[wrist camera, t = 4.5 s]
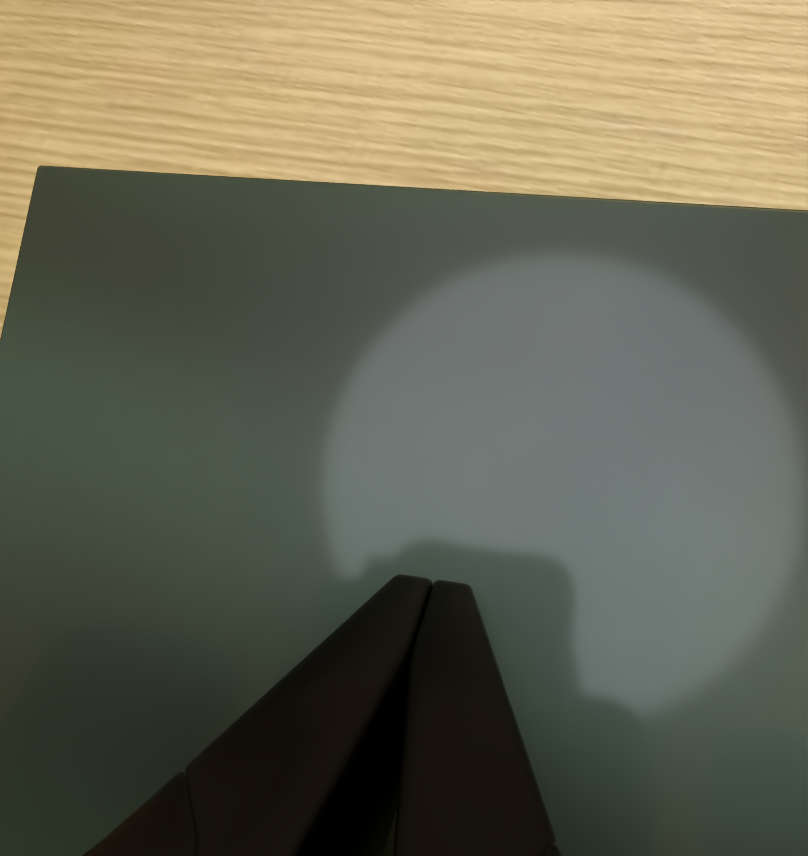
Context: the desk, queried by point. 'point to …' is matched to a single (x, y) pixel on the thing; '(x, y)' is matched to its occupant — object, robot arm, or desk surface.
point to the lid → (407, 485)
